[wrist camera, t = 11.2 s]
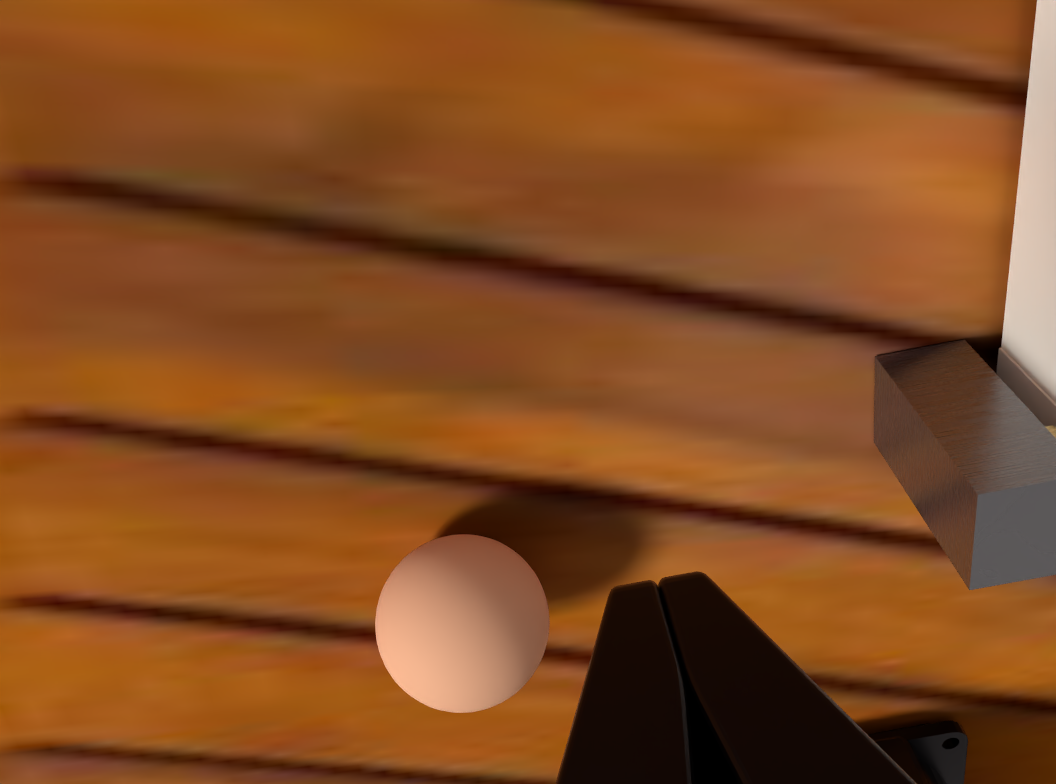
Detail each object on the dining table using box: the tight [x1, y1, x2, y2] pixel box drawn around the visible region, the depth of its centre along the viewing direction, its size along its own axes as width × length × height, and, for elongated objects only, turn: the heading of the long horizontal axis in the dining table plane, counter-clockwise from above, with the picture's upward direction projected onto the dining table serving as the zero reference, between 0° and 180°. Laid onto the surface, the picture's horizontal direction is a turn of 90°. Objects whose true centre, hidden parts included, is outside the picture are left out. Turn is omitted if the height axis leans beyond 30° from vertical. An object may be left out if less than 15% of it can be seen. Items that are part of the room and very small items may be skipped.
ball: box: [375, 534, 549, 713], centre depth 23 cm, size 4×4×4 cm
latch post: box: [874, 340, 1056, 590], centre depth 20 cm, size 2×2×5 cm
